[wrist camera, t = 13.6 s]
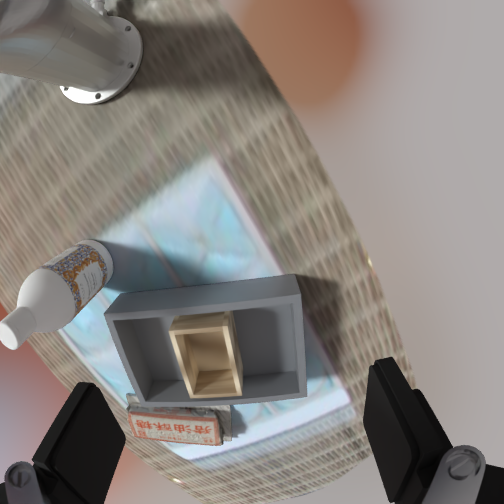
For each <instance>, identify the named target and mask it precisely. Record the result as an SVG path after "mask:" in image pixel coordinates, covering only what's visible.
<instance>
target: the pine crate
mask: <svg viewBox="0 0 504 504" xmlns="http://www.w3.org/2000/svg"><path fill="white" fill-rule="evenodd" d="M169 334H170V338H171V341H172V344H173V347H174V351H175V354H176V357H177V360H178V363H179V366H180V369H181V372H182V375H183V378H184V381H185V384H186V387H187V390H188V393H189V396H190V398H213V397H230V396H242V389H243V364H242V359H241V353H240V348H239V343H238V338H237V333H236V327H235V322H234V316H233V311H222V312H212V313H202V314H192V315H180V316H175V317H174V319H173V322H172V324H171V326H170V329H169Z"/></svg>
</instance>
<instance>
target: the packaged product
mask: <svg viewBox="0 0 504 504" xmlns="http://www.w3.org/2000/svg"><path fill="white" fill-rule="evenodd" d="M126 397H127V401H128V404H129V406H128V407H127V409H126V412H127V421H128V423H129V424H130V429H131V431H132V435H133V436H134V437H139V438H144V439H152V440H160V441H167V442H176V443H186V444H200V445H211V446H213V445H215V446H221V445H223V441H232V430H231V408H230V405H220V406H195V407H146V406H141V404H140V402H139V400H138V398H137V395H136V394H129V393H128V394H126Z"/></svg>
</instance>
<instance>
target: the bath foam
mask: <svg viewBox="0 0 504 504" xmlns="http://www.w3.org/2000/svg"><path fill="white" fill-rule="evenodd" d="M112 274H113V261H112V258H111V255H110V253H109V252H108V250H107V249H106V248H105V247H104V246H103V245H102V244H100V243H99V242H97V241H94V240H83V241H81V242H79V243H77V244H75V245H74V246H72V247H70V248H69V249H67V250H66V251H64V252H62V253H61V254H59V255H58V256H56V257H55V258H53V259H51V260H50V261H48V262H47V263H45V264H44V265H42V266H41V267H39V268H38V269H36V270H35V271H33V272H32V273H31V274H30V275H29V276H28V277H27V279H26V280H25V281H24V283H23V285H22V287H21V289H20V292H19V296H18V302H17V308H16V309H15V310H14V311H12V312H11V313H10V314H9V315H8V316H7V317H5V318H4V319H3V320H2V321H1V322H0V340H1V341H2V343H3V344H4V345H5V346H7V347H8V348H9V349H12V350H15V349H17V348H19V347H20V346H21V345H22V344H23V342H24V341H25V340H26V339H27V338H28V337H29V336H30V335H31V334H32V333H33V332H53V331H56V330H59V329H61V328H63V327H64V326H66V325H67V324H68V323H70V322H71V321H72V320H73V318H74V317H75V316H76V315H77V314H78V313H79V312H80V311H81V310H82V309H83V308H84V307H85V306H86V305H87V304H88V302H89V301H90V300H91V299H92V298H93V297H94V296H95V295H96V294H97V293H98V292H99V291H100V290H101V289H102V288H103V287H104V286H105V285H106V284H107V283H108V282H109V280H110V279H111V277H112Z"/></svg>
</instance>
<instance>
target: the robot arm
mask: <svg viewBox="0 0 504 504" xmlns="http://www.w3.org/2000/svg"><path fill="white" fill-rule="evenodd" d="M104 4H105V0H90V5H88V4H87V3H86V2H85V1H83V0H0V73H4V74H9V75H14V76H19V77H24V78H28V79H33V80H37V81H42V82H46V83H50V84H54V85H58V86H60V89H61V90H62V92H63V94H64V95H65V96H66V97H67V98H68V99H70V100H72V101H74V102H76V103H80V104H86V105H92V104H99V103H102V102H105V101H107V100H109V99H111V98H113V97H114V96H116V95H117V94H119V93H120V92H121V91H122V90H123V89H124V88H125V87H127V85H128V84H129V83H130V82H131V80H132V79H133V77H134V76H135V74H136V72H137V71H138V68H139V66H140V63H141V60H142V55H143V43H142V38H141V35H140V33H139V31H138V30H137V29H136V27H135V26H134V25H133V24H132V23H130V22H129V21H128V20H126V19H124V18H121V17H117V16H108V15H107V11H106V10H105V9H104ZM129 30H130V31H129ZM133 65H134V67H133V68H131V67H132V66H133ZM100 96H101V98H100ZM363 424H364V428H365V431H366V434H367V437H368V440H369V443H370V445H371V448H372V451H373V454H374V457H375V460H376V463H377V466H378V469H379V472H380V476H381V479H382V482H383V485H384V488H385V491H386V494H387V497H388V500H389V502H390V503H392V502H395V504H504V468H501V467H496V466H492V465H488V464H486V461H485V457H484V455H483V454H482V453H481V451H479V450H478V449H477V448H475V447H472V446H469V445H461V446H456V447H454V448H453V446H452V444H451V443H450V441H449V439H448V437H447V435H446V434H445V432H444V430H443V428H442V426H441V424H440V423H439V421H438V419H437V418H436V416H435V414H434V412H433V410H432V409H431V407H430V406H429V404H428V402H427V400H426V399H425V397H424V395H423V394H422V392H421V391H420V390H419V389H414V390H412V389H411V387H410V386H409V384H408V382H407V380H406V379H405V377H404V375H403V374H402V372H401V370H400V368H399V367H398V365H397V363H396V362H395V360H394V359H393V357H388V358H384V359H379V360H375V362H374V365H371V366H370V367H369V375H368V384H367V393H366V401H365V409H364V416H363ZM125 441H126V438H125V434H124V432H123V430H122V429H121V427H120V425H119V424H118V422H117V420H116V418H115V417H114V415H113V413H112V411H111V409H110V408H109V406H108V404H107V402H106V400H105V398H104V396H103V394H102V392H101V390H100V389H99V388H98V387H96V385H95V384H94V383H87V382H79V383H78V384H77V385H76V386H75V388H74V389H73V391H72V393H71V394H70V396H69V397H68V399H67V401H66V402H65V404H64V405H63V407H62V409H61V410H60V412H59V414H58V415H57V417H56V418H55V420H54V422H53V423H52V425H51V427H50V428H49V430H48V432H47V434H46V435H45V437H44V439H43V440H42V442H41V444H40V446H39V448H38V449H37V451H36V453H35V454H34V456H33V458H32V461H33V462H34V465H33V466H32V465H31V464H30V463H28V462H24V461H20V462H16V463H14V464H12V465H11V466H10V467H9V468H8V469H7V471H6V473H5V480H4V481H5V482H4V483H1V484H0V504H104V501H105V498H106V495H107V492H108V490H109V486H110V484H111V481H112V478H113V475H114V472H115V469H116V467H117V464H118V461H119V458H120V456H121V453H122V450H123V447H124V445H125Z"/></svg>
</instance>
